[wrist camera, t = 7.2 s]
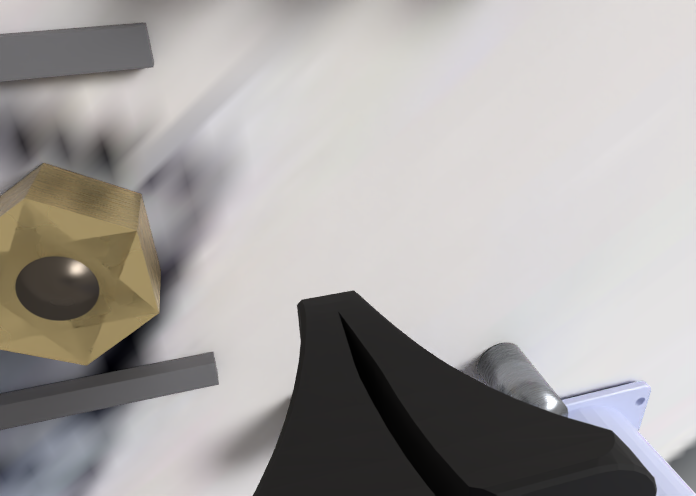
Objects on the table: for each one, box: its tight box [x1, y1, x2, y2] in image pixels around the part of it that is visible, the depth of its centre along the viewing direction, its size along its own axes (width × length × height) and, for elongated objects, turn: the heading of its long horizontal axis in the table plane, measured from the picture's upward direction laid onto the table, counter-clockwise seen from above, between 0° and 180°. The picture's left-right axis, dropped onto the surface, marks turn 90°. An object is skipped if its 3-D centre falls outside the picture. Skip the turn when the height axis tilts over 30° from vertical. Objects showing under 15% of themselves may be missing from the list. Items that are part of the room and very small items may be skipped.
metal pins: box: [478, 343, 568, 418], centre depth 18 cm, size 19×10×4 cm, turn 2°
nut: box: [0, 163, 161, 366], centre depth 16 cm, size 5×5×2 cm
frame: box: [0, 23, 219, 430], centre depth 17 cm, size 12×9×1 cm
